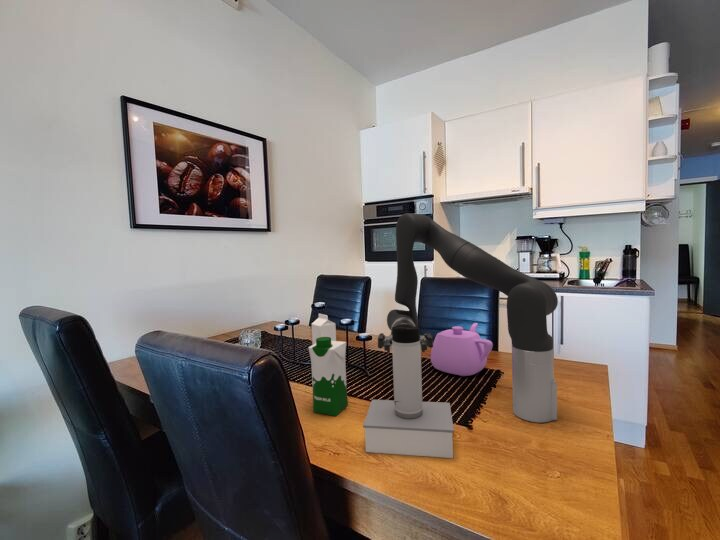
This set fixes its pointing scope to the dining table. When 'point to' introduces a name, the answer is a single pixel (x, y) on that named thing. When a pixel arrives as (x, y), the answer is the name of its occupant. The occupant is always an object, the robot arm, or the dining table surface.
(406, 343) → the travel mug
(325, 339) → the milk carton
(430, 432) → the box with lid
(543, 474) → the dining table surface
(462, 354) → the teapot
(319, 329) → the milk
